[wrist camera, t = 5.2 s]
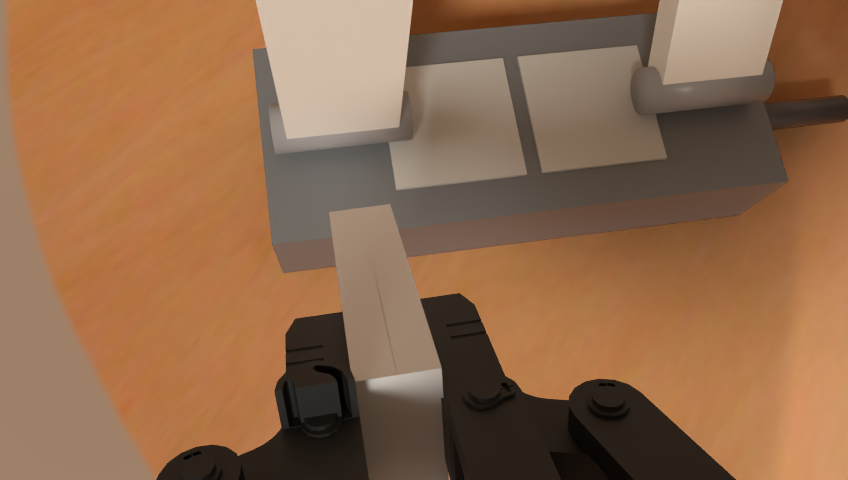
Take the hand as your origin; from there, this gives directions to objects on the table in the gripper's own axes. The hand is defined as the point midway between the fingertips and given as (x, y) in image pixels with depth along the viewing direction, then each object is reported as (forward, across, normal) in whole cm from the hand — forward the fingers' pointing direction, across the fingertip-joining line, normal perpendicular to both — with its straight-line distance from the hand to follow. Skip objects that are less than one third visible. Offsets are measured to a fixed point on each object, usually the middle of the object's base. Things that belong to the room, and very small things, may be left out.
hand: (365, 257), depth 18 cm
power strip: (+13, -10, +3) cm, 17 cm away
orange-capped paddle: (+10, 0, 0) cm, 10 cm away
